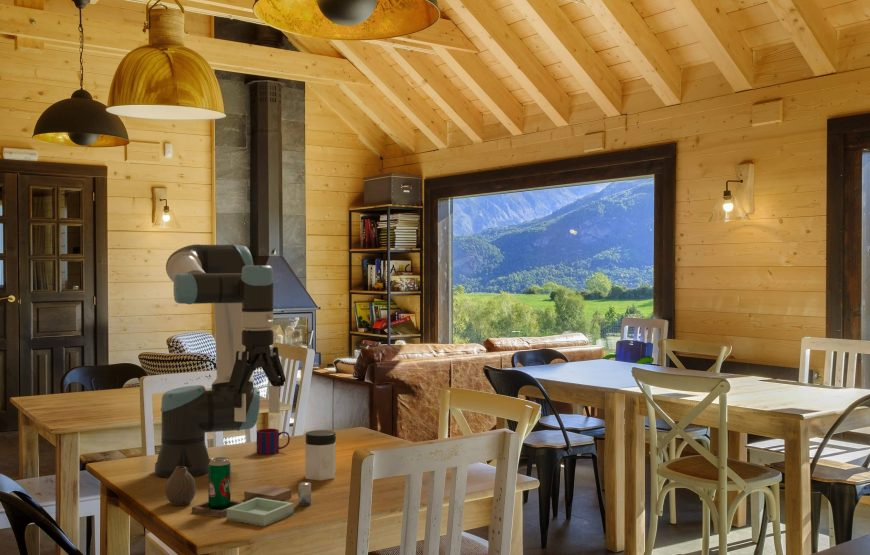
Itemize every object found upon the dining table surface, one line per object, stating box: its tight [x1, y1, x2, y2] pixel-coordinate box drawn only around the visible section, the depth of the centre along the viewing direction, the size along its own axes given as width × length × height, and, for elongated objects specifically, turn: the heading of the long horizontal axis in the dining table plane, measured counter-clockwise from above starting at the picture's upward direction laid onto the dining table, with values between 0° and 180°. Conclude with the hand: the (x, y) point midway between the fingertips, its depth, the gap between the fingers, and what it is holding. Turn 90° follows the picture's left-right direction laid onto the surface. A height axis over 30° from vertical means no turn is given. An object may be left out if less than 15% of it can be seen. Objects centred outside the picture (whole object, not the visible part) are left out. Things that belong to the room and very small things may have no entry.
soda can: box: [207, 456, 232, 511], centre depth 199 cm, size 5×5×12 cm
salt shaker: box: [297, 481, 312, 507], centre depth 204 cm, size 3×3×5 cm
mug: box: [256, 428, 291, 456], centre depth 261 cm, size 7×10×7 cm
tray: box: [226, 498, 294, 527], centre depth 194 cm, size 11×11×2 cm
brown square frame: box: [191, 499, 244, 518], centre depth 199 cm, size 9×9×1 cm
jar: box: [304, 429, 337, 481], centre depth 231 cm, size 9×8×12 cm
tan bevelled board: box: [243, 484, 292, 502], centre depth 209 cm, size 9×7×2 cm
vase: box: [165, 466, 197, 507], centre depth 205 cm, size 7×7×9 cm
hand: (257, 416), depth 205 cm, fingers open, 13 cm apart
